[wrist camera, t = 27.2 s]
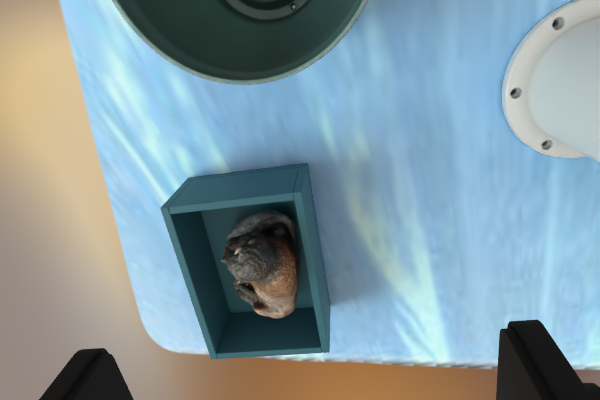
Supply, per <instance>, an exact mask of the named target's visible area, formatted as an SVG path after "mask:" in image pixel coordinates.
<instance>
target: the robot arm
mask: <svg viewBox="0 0 600 400" xmlns="http://www.w3.org/2000/svg"><path fill="white" fill-rule="evenodd" d="M554 20H555V21H556V24H555V26H554V27H553V25H552V24H553V21H554ZM513 89H514V90H515V91H514V93H513V94H510V93H511V91H512V90H513ZM501 97H502V106H503V112H504V115H505V118H506V121H507V123H508V125H509V126H510V128H511V130H512V131H513V133H514V134H515V135H516V136H517V137H518V138H519V139H520V140H521V141H522V142H523V143H525V144H526V145H528V146H529V147H531V148H532V149H534V150H536V151H538V152H540V153H542V154H545V155H549V156H553V157H557V158H579V157H587V156H588V157H590V158H592V159H594V160H596V161H597V162H599V163H600V0H575V1H572V2H569V3H567V4H565V5H563V6H562V7H560V8H558V9H556V10H554V11H553V12H551V13H550V14H549V15H547V16H546V17H545V18H543V19H542V20H541V21H540V22H538V23H537V24H536V25H535V26H534V27H533V28H532V29H531V30H530V31H529V32H528V34H527V35H526V36H525V37H524V38H523V40H522V41H521V42H520V44H519V45H518V47H517V48H516V50H515V51H514V53H513V55H512V57H511V59H510V61H509V64H508V66H507V69H506V72H505V76H504V79H503V85H502V96H501ZM544 141H545V143H544V144H542V143H543V142H544ZM497 375H498V376H497V394H496V400H600V387H599V386H597V385H596V384H594V383H582V381H581V380H580V379H579V377H578V376H577V374H576V373H575V371H574V370H573V368H572V367H571V365H570V364H569V362H568V361H567V359H566V358H565V356H564V355H563V353H562V352H561V350H560V349H559V348H558V346H557V345H556V343H555V342H554V340H553V339H552V337H551V336H550V334H549V333H548V331H547V330H546V328H545V327H544V325H543V324H542V323H541V322H540V321H539V320H526V321H511V322H509V323H508V328H507V329H501V330H500V338H499V356H498V374H497ZM39 400H133V398H132V396H131V393H130V391H129V389H128V387H127V385H126V383H125V381H124V378H123V376H122V374H121V372H120V370H119V368H118V366H117V363H116V361H115V359H114V357H113V356H112V355H111V354H109V353H108V352H107V350H105V349H104V348H98V349H83V350H79V351H78V352H77V353H75V354H74V356H73V357H72V358H71V359H70V361H69V362H68V363H67V364H66V366H65V367H64V368H63V370H62V371H61V372H60V373H59V375H58V376H57V377H56V379H55V380H54V381H53V382H52V384H51V385H50V386H49V388H48V389H47V390H46V392H45V393H44V394H43V395H42V397H41V398H40V399H39Z"/></svg>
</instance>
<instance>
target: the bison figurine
mask: <svg viewBox="0 0 600 400" xmlns="http://www.w3.org/2000/svg"><path fill="white" fill-rule="evenodd" d="M227 240H228V242H227V247H225V248H224V252H223V255H224V257H223V258H222V259H221V262H223V263H225V264H227V268H228V270H229V271H230V272H231V274H232V275H233V276H234V277H235V278H236V281H234V287H235V290H236V294H237V296H239V298H240V299H242V300H244V301H246V302H247V303H249V304H251V305H252V306H253V310H254V311H255V312H256V313H258V314H260V315H262V316H268V317H271V318H282V317H285V316H286V315H289V314H290V313H292V312H293V311H294V309H295V307H296V301H297V289H298V284H299V274H300V263H301V262H300V256H299V251H298V247H297V240H296V230H295V225H294V223H293V221H292V220H291V219H290V218H289V217H288V216H287V215H285V214H283V213H280V212H278V211H276V210H273V209H264V210H261V211H258V212H256V213H254V214H252V215H249V216H248V217H246V218H244V219H243V220H241V221H240V222H239V223H238V224H237V225H236V226H235V227H234V228H233V229H232V230H231V231H230V232H229V234H228V235H227Z"/></svg>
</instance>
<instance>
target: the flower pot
mask: <svg viewBox="0 0 600 400" xmlns="http://www.w3.org/2000/svg"><path fill="white" fill-rule="evenodd" d="M112 1H113V3H114V5H115V6H116V8H117V9H118V11H119V12H120V14H121V15H122V17H123V18H124V19H125V21H126V22H127V23H128V24H129V26H130V27H131V28H132V29H133V30H134V31H135V32H136V34H137V35H138V36H139V37H140V38H141V39H142V40H143V41H144V42H145V43H146V44H147V45H149V46H150V47H151V48H152V49H153V50H154V51H155V52H157V53H158V54H159V55H160V56H162V57H163V58H164V59H166V60H167V61H169V62H170V63H172V64H173V65H175V66H177V67H179V68H181V69H183V70H185V71H187V72H189V73H191V74H193V75H196V76H198V77H201V78H204V79H207V80H211V81H215V82H220V83H227V84H239V85H251V84H261V83H267V82H271V81H275V80H279V79H282V78H285V77H288V76H290V75H293V74H295V73H297V72H299V71H302V70H303V69H305V68H307V67H308V66H310V65H312V64H313V63H315V62H316V61H318V60H319V59H321V58H322V57H323V56H324V55H325V54H327V53H328V52H329V51H330V50H331V49H332V48H334V47H335V46H336V44H337V43H338V42H339V41H340V40H341V39H342V38H343V37H344V36H345V34H346V33H347V32H348V31H349V30H350V28H351V27H352V26H353V24H354V23H355V21H356V20H357V18H358V17H359V15H360V13H361V12H362V10H363V8H364V6H365V4H366V3H367V1H368V0H112ZM292 4H295V5H296V8H295V9H292V7H291V6H292Z"/></svg>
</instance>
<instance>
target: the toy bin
mask: <svg viewBox="0 0 600 400" xmlns="http://www.w3.org/2000/svg"><path fill="white" fill-rule="evenodd" d="M264 209H273V210H276V211H278V212H280V213H283V214H285V215H287V216H288V217H289V218H290V219H291V220H292V221H293V223H294V225H295V230H296V240H297V247H298V251H299V256H300V262H301V263H300V274H299V284H298V289H297V301H296V307H295V309H294V311H293V312H292V313H290V314H289V315H286V316H285V317H282V318H271V317H268V316H262V315H260V314H258V313H256V312H255V311H254V310H253V306H252V305H251V304H249V303H247V302H246V301H244V300H242V299H240V298H239V296H237V294H236V290H235V287H234V281H236V278H235V277H234V276H233V275H232V274H231V272H230V271H229V270H228V268H227V264H225V263H223V262H221V259H222V258H223V257H224V255H223V252H224V248H225V247H227V242H228V240H227V235H228V234H229V232H230V231H231V230H232V229H233V228H234V227H235V226H236V225H237V224H238V223H239V222H240V221H241V220H243V219H244V218H246V217H248V216H249V215H252V214H254V213H256V212H258V211H261V210H264ZM161 211H162V214H163V217H164V220H165V223H166V226H167V229H168V232H169V235H170V238H171V241H172V244H173V247H174V250H175V253H176V256H177V259H178V262H179V265H180V268H181V271H182V274H183V277H184V280H185V283H186V286H187V289H188V292H189V295H190V298H191V301H192V304H193V307H194V310H195V313H196V316H197V319H198V322H199V324H200V327H201V330H202V333H203V336H204V339H205V342H206V345H207V348H208V351H209V354H210V357H211V359H224V358H241V357H258V356H275V355H292V354H309V353H322V352H323V353H326V352H329V347H330V301H329V295H328V289H327V283H326V276H325V270H324V264H323V258H322V252H321V245H320V239H319V233H318V227H317V221H316V215H315V208H314V202H313V196H312V190H311V184H310V178H309V171H308V165H307V163H304V164H297V165H289V166H281V167H273V168H265V169H257V170H249V171H241V172H234V173H226V174H218V175H210V176H202V177H194V178H188V179H187V180H186V181H185V182H184V183H183V184H182V185H181V186H180V188H179V189H178V190H177V191H176V192H175V193H174V194H173V195H172V196H171V197H170V198H169V199H168V201H167V202H166V203H165V204H164V205H163V206H162V207H161Z"/></svg>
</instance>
